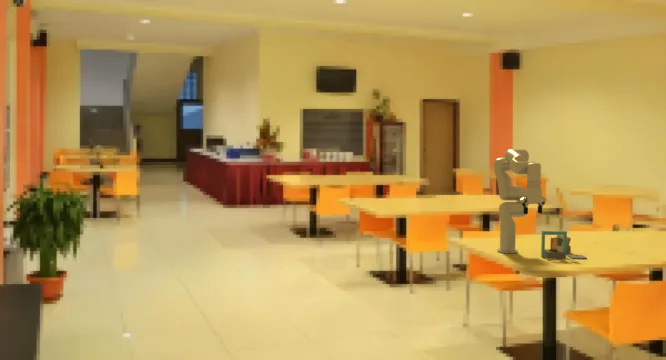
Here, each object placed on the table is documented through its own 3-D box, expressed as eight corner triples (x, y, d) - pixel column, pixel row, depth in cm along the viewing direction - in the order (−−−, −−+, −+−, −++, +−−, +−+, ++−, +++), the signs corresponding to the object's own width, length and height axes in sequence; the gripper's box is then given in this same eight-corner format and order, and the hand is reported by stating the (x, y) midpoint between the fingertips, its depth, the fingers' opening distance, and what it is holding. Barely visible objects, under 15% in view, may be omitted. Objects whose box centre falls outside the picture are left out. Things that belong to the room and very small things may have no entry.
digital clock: (551, 249, 447) (552, 233, 446) (566, 250, 446) (566, 233, 445) (557, 254, 431) (558, 237, 430) (572, 254, 430) (572, 237, 429)
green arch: (541, 256, 422) (541, 230, 420) (564, 256, 421) (565, 230, 420) (542, 257, 419) (543, 231, 417) (566, 257, 418) (566, 231, 417)
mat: (567, 256, 424) (567, 254, 424) (581, 256, 424) (581, 254, 424) (571, 259, 414) (572, 257, 414) (587, 259, 414) (587, 257, 414)
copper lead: (549, 256, 422) (549, 237, 421) (556, 256, 422) (556, 237, 421) (551, 257, 418) (551, 238, 417) (557, 257, 418) (558, 238, 417)
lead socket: (543, 255, 425) (543, 249, 425) (559, 255, 425) (559, 249, 424) (547, 258, 415) (547, 252, 415) (564, 258, 415) (564, 252, 414)
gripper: (542, 183, 406) (541, 212, 407) (517, 184, 400) (516, 213, 401) (550, 184, 399) (549, 213, 400) (524, 185, 393) (524, 215, 394)
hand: (532, 213), depth 401 cm, fingers open, 9 cm apart
